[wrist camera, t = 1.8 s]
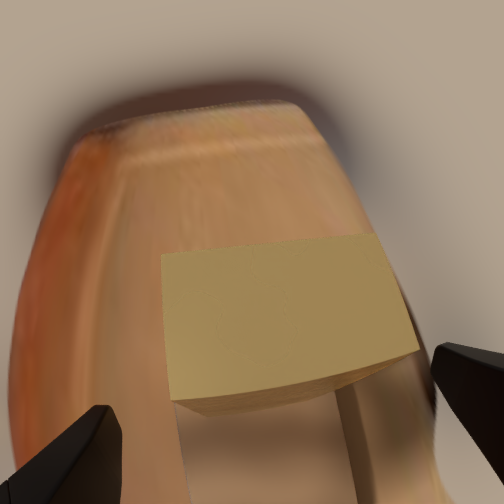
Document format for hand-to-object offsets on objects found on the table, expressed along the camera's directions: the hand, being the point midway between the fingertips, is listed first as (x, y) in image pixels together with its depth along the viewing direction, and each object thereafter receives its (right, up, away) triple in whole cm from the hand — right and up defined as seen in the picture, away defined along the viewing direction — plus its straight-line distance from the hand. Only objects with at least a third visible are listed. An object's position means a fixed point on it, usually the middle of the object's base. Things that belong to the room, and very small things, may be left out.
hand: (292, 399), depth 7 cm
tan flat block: (0, -7, +7) cm, 9 cm away
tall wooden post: (-1, -3, +7) cm, 8 cm away
